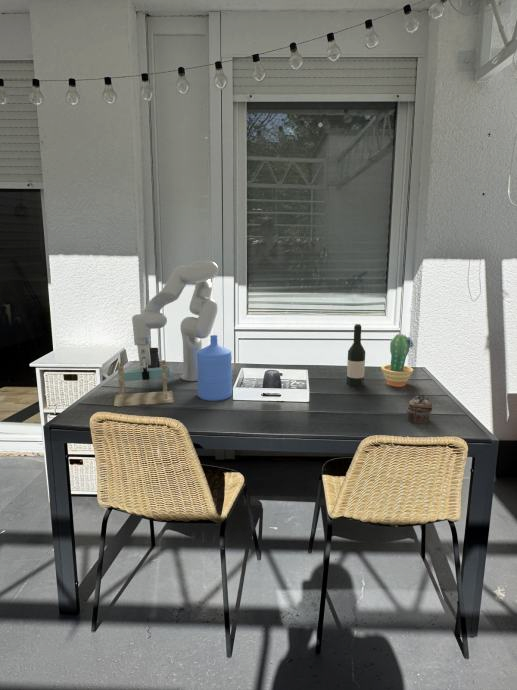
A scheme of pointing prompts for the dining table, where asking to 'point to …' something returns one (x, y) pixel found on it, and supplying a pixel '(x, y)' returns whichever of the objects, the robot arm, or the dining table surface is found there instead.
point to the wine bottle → (356, 360)
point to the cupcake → (419, 409)
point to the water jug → (214, 372)
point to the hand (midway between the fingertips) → (146, 377)
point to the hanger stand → (142, 398)
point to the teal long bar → (153, 373)
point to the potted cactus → (398, 361)
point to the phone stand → (154, 358)
